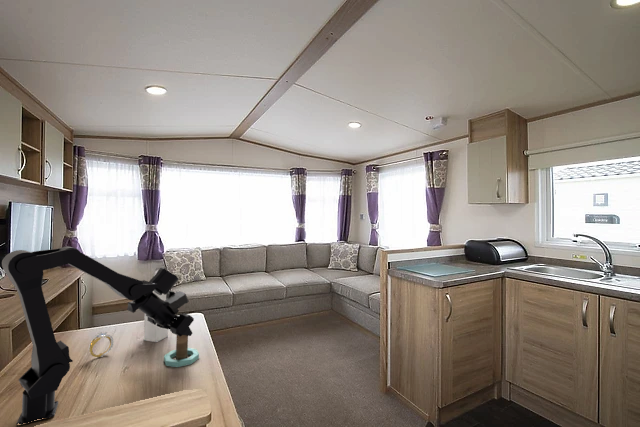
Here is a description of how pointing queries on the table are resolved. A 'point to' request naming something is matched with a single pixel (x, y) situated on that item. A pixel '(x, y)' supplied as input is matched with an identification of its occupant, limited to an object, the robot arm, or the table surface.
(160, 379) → the table surface
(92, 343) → the ring
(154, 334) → the milk
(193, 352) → the teal faceted ring
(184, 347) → the brown peg
